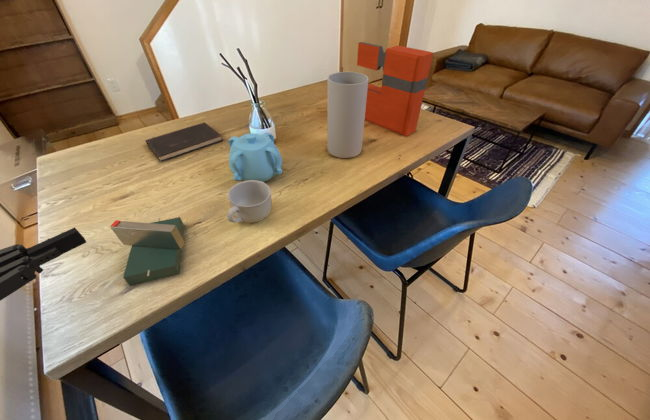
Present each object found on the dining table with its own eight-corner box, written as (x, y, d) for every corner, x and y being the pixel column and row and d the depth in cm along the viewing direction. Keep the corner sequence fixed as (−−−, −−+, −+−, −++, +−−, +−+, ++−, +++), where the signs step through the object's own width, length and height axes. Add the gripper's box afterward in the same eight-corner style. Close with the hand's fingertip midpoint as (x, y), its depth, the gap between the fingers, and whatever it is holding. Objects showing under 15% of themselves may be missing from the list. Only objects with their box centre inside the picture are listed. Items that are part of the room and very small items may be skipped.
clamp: (354, 105, 132) (359, 36, 113) (418, 129, 113) (437, 51, 94) (340, 111, 127) (343, 40, 108) (405, 136, 108) (422, 56, 89)
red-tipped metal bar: (185, 243, 64) (175, 224, 60) (180, 249, 63) (170, 230, 58) (128, 238, 65) (115, 219, 61) (123, 244, 64) (109, 226, 60)
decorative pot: (282, 158, 97) (277, 121, 88) (284, 185, 85) (279, 146, 76) (235, 162, 95) (225, 125, 86) (230, 190, 83) (218, 150, 74)
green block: (198, 273, 61) (193, 264, 59) (107, 295, 58) (98, 286, 55) (200, 219, 74) (196, 210, 72) (125, 234, 70) (119, 225, 68)
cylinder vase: (367, 148, 102) (375, 76, 85) (349, 163, 94) (354, 87, 78) (339, 138, 107) (342, 69, 90) (320, 152, 100) (319, 79, 83)
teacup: (255, 196, 81) (250, 174, 76) (282, 211, 76) (279, 188, 71) (216, 224, 73) (208, 201, 67) (244, 242, 68) (237, 219, 63)
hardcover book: (222, 140, 106) (221, 135, 105) (160, 162, 95) (158, 156, 94) (205, 126, 115) (203, 121, 114) (147, 145, 104) (144, 139, 103)
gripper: (-102, 318, 40) (83, 231, 53) (-110, 387, 34) (104, 269, 46) (-164, 290, 35) (57, 202, 48) (-187, 364, 29) (77, 238, 41)
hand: (80, 235), depth 47 cm, fingers closed
